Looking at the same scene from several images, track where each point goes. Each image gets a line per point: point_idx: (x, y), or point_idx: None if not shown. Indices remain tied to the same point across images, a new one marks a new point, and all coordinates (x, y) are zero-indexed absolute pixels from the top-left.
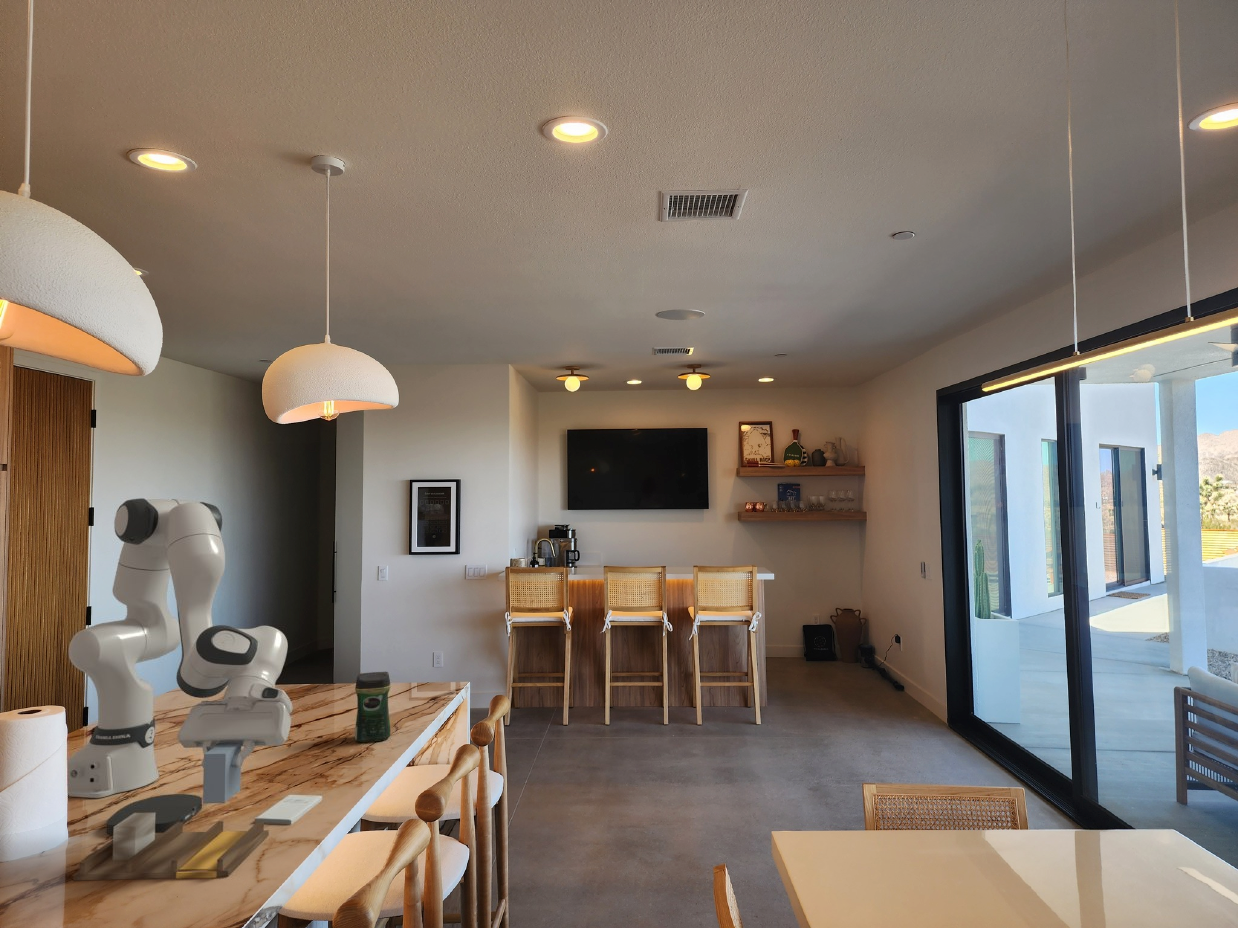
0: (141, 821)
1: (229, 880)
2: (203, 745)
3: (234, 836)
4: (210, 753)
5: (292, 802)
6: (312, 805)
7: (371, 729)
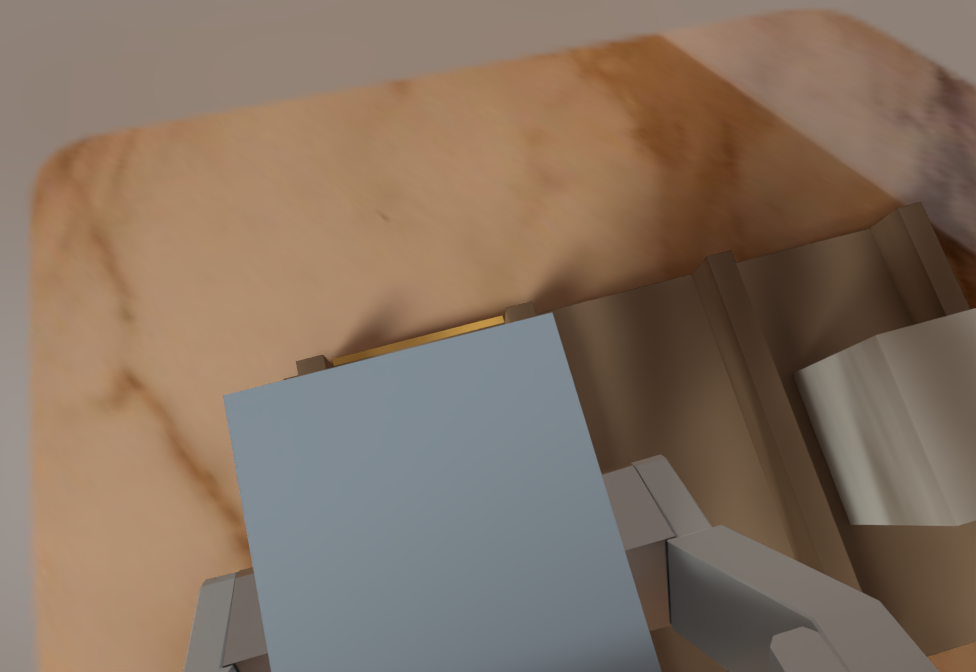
0: (908, 396)
1: (261, 357)
2: (878, 622)
3: None
4: (476, 360)
5: None
6: None
7: None
